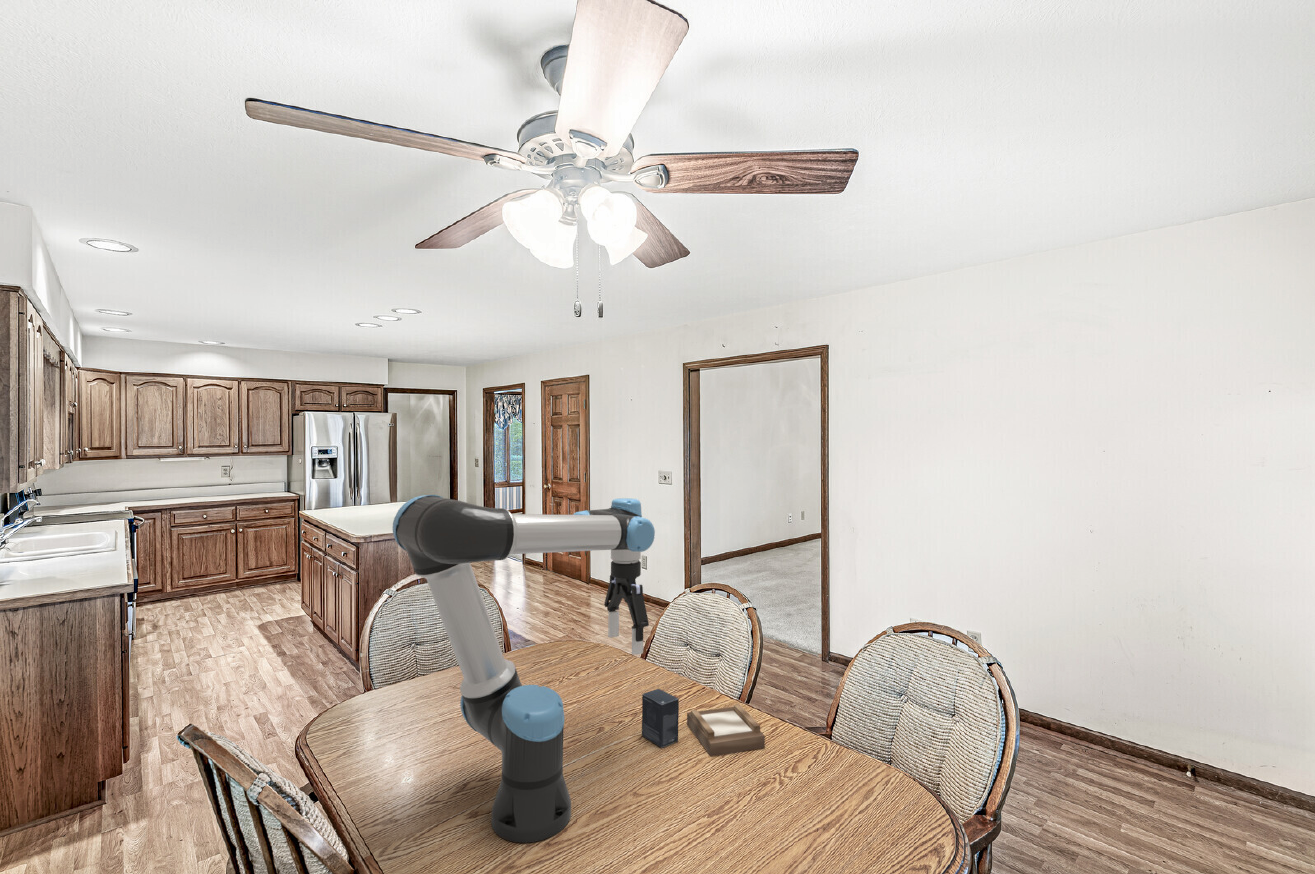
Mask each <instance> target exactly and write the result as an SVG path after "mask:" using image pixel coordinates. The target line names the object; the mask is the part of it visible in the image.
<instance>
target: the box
mask: <svg viewBox="0 0 1315 874" xmlns="http://www.w3.org/2000/svg"><path fill="white" fill-rule="evenodd" d="M641 697H642V699H641V700H642V701H641V702H642V703H641V736H642V737H644V739H647V740H648V741H650V742H651V743H653V744H654V745H656V746H657V747H659V748H661V749H662V748H665V747H668V746H670V745H672V744H675V743H677V742H678V741H679V717H680V716H679V713H680V712H679V709H680V708H679V707H680V704H679V703H680V702H679V700H680V698H678V697H676V696H674V695H673V694H670V693H668V692H667V691H665V690H663V689H660V688H657V689H654V690H650V691H647V692H643V693H642V695H641Z"/></svg>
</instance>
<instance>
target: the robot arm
mask: <svg viewBox="0 0 1315 874" xmlns="http://www.w3.org/2000/svg"><path fill="white" fill-rule="evenodd" d="M655 533H656V530H655V527H654V524H653V523H652V522H651V521H650V519H648V518H645V517H643V513H642V503H641V501H640V500H639V499H636V498H628V497H625V498H624V497H622V498H614V499H612V500H611V506H610V507H609V508H602V509H591V510H586V509H585V510H582V511H581V510H580V511H576V512H574V513H573V514H542V513H541V514H536V513H535V514H532V513H530V514H529V513H528V514H525V513H516V514H515V513H511V512H510V510H508V509H507V508H495V507H487V506H482V505H477V504H473V503H469V502H466V501H461V500H457V499H451V498H446V497H443V496H440V495H436V494H427V495H425V494H424V495H418V496H415V497H412V498H411V499H409V500H407V501H406V502H405V503H403V505H402V506H401V507H400V508H398V510H397V512H396V514H395V516H394V518H393V522H392V535H393V538H394V539H395V542H396V543H397V544H398V546H399V547H400V548H401V549H402V550H403V551H406V553H407V556H408V558H409V561H410V563H411V566H412V568H413V572H414V574H415V575H416V576H417V577H421V578H423V579H425V580H426V582H427V584H428V586H429V587H428V588H429V589H430V592H431V595H432V598H433V600H434V603H435V606H436V608H437V610H438V614H439V616H440V618H441V621H442V624H443V627H444V628H445V629H444V630H445V632H446V635H447V638H448V640H449V642H450V645H451V647H452V651H453V653H454V655H455V658H456V660H457V663H458V667H459V670H460V672H461V674H462V676H463V677H462V678H463V680H462V681H461V682H460V686H459V691H460V694H461V697H460V702H459V703H460V710H461V715H462V717H463V718H464V720H465V722H466V723H467V724H468V726H469V727H470V728H471V729H472V730H473V731H475V732H476V733H479V734H480V735H481V736H482V737H484V738H485V739H486V740H487V741H488V742H490V743H491V744H492V745H493V746H495V747H496V748H497V749H498V750H499V751H500V752H501V780H500V782H499V786H498V789H497V792H496V795H495V797H494V801H493V804H492V808H491V821H490V823H491V827H492V830H493V831H494V832H495V834H496V835H498V836H499V837H500V838H502V839H504V840H506V841H510V842H514V843H523V844H525V843H534V842H540V841H543V840H546V839H549V838H552V837H553V836H555V835H556V834H558V833H559V832H561V831H563V829H564V828H565V827H566V826H567V825H568V823H569V822H570V819H571V817H572V816H571V815H572V800H571V796H570V793H569V790H568V787H567V784H566V779H565V777H564V772H563V771H564V770H563V768H564V767H563V766H564V729H565V728H564V726H565V721H566V719H565V712H564V702H563V699H562V697H561V696H560V695H559V693H558V692H556V691H555V690H553V689H552V688H550V687H548V686H544V685H541V686H539V685H538V684H526V685H525V684H524V685H523V684H522V682H521V680H520V677H519V674H518V671H517V668H516V666H515V663H514V662H513V661H511V660H510V659H505V657H504V655H503V651H502V649H501V646H500V642H499V640H498V637H497V634H496V632H495V629H494V626H493V623H492V620H491V617H490V615H489V612H488V609H487V607H486V604H485V601H484V597H483V595H482V593H481V590H480V586H479V584H478V581H477V578H476V576H475V572H474V570H473V567H472V564H471V563H481V562H493V561H494V562H495V561H504V560H506V559H508V558H509V556H511V555H520V554H521V555H523V554H524V555H525V554H547V553H550V554H551V553H569V552H592V551H608V550H609V551H610V559H611V560H612V561H611V562H610V575H609V582H608V587H607V592H606V594H605V595H606V596H605V600H604V603H603V604H604V605H603V606H604V607H605V608H606V610H607V612H608V616H607V617H608V619H607V620H608V621H607V622H608V624H607V627H608V628H607V638H609V639H610V638H617V637H619V636H620V611H619V610H620V605H621V602H622V601H623V602H625V603H626V604H627V608H628V610H629V614H630V617H631V620H632V624H633V625H632V626H631V655H633V656H636V655H640V654H644V628H646V627H649V625H650V622H649V618H648V613H647V612H648V611H647V607H646V603H645V598H644V590H643V589H644V587H643V584H637V581H636V579H638V578H639V577H640V576H641V575H642V572H641V569H642V568H641V566H642V562H641V561H640V560H641V557H642V555H641V554H642V552H646V551H647V550H649V549H650V548H651V547H652V545H653V544H654V541H655Z"/></svg>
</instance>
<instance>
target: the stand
mask: <svg viewBox="0 0 1315 874" xmlns="http://www.w3.org/2000/svg"><path fill="white" fill-rule="evenodd" d="M686 725H687V726H688V728H689V729H690V730H691V732H692V733H693V735H694V736H695V737H696V738H697V740H698V741H699V743H700V744H701V746H703V748H704V750H705V751H706V752H707V754H708V755H709V756H710V757H715V756H720V755H721V756H722V755H729V754H734V753H740V752H747V751H754V750H760V749H761V750H762V749H765V748H766V747H765V741H766V740H765V739H766V736H765V734H764V733H763V732H762V731H761V724H759V723H758V722H757V721H756V720H755V719H754V718H753V716H751V714H749V713H748V712H747V711H746V710H745V709H744V707H742V705H741V704H739V703H738V704H733V706H730V707H721V708H720V707H719V708H712V709H707V710H697V709H690V712H687V713H686Z"/></svg>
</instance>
